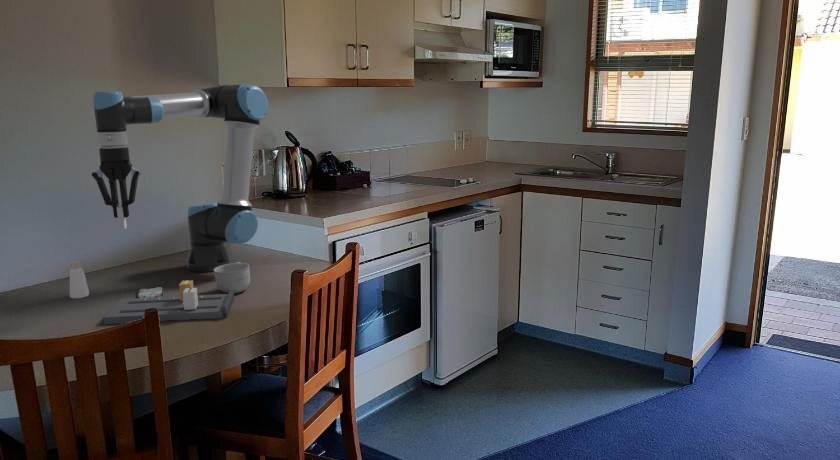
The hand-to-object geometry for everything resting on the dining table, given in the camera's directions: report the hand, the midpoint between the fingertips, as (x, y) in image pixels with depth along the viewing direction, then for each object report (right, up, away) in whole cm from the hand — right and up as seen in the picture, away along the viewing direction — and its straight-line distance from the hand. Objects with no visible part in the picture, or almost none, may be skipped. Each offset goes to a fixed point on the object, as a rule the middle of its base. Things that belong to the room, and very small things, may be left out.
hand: (123, 228), depth 187 cm
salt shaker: (-19, -21, +12) cm, 31 cm away
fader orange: (+18, -21, +1) cm, 28 cm away
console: (+15, -24, -3) cm, 29 cm away
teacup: (+28, -20, +18) cm, 38 cm away
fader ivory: (+22, -22, -6) cm, 32 cm away
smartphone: (+3, -22, +11) cm, 25 cm away
